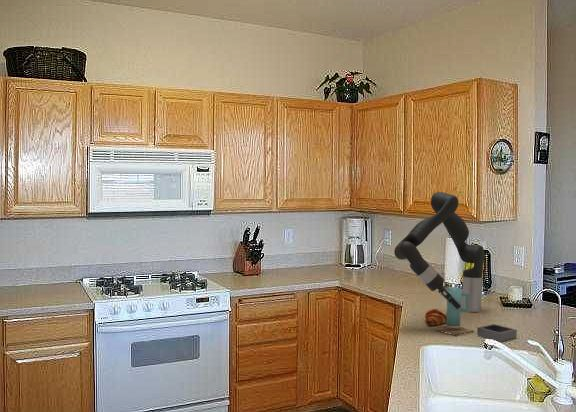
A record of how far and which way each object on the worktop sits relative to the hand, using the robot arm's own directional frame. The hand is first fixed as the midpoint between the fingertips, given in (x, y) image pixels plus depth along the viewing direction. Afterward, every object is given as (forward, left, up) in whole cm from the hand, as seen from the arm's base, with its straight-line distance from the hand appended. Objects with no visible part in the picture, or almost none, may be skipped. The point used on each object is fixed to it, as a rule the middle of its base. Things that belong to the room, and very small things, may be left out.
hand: (457, 305), depth 245 cm
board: (-1, -1, -11) cm, 11 cm away
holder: (+15, +7, -11) cm, 20 cm away
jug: (0, 0, -8) cm, 8 cm away
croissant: (-16, +5, -12) cm, 20 cm away
